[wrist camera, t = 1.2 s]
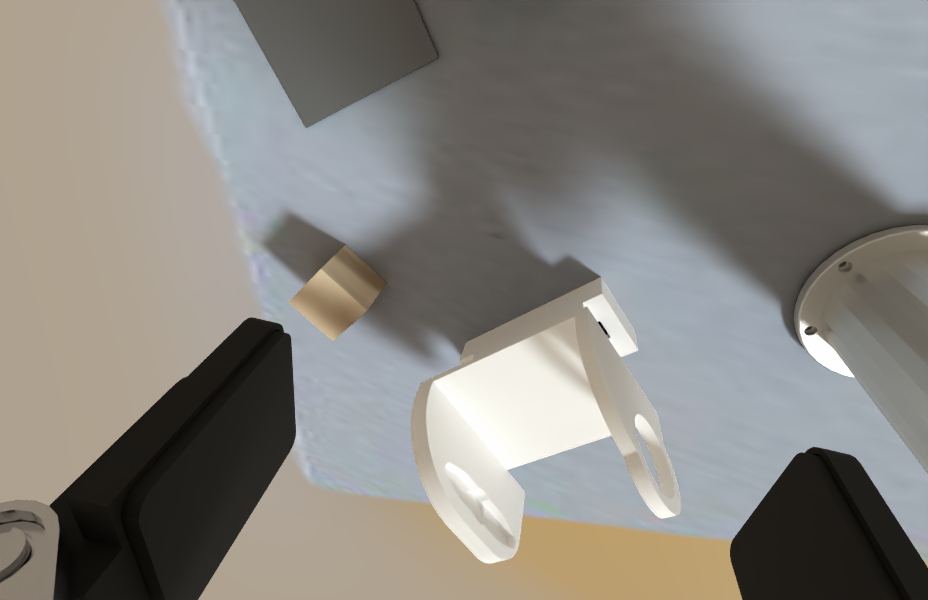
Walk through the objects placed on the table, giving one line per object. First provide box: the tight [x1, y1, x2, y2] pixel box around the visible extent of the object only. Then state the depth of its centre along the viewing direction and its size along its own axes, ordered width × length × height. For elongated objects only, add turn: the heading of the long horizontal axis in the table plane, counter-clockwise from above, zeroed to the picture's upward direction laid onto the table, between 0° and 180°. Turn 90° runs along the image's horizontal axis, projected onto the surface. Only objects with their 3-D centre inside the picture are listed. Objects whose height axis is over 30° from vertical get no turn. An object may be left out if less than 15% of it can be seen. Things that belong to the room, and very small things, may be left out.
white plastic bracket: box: [411, 277, 681, 563], centre depth 37 cm, size 14×13×18 cm
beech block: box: [289, 245, 387, 341], centre depth 43 cm, size 5×5×5 cm
